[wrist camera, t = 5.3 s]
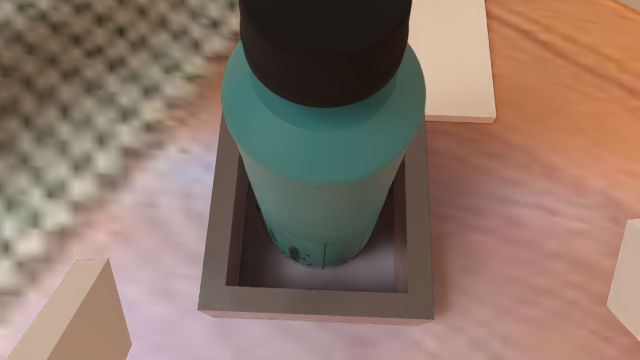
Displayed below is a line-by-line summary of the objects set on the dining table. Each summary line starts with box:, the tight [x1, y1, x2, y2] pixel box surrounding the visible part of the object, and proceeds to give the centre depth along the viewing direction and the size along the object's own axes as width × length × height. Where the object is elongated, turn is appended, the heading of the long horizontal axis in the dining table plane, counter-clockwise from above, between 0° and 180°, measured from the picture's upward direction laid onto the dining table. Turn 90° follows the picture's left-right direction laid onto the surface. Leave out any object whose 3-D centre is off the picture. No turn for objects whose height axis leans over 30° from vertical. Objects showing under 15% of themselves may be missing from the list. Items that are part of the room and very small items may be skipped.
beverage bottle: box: [221, 0, 426, 269], centre depth 20 cm, size 6×7×20 cm
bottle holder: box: [198, 110, 434, 326], centre depth 27 cm, size 11×11×4 cm
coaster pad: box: [408, 0, 496, 123], centre depth 33 cm, size 14×11×1 cm
